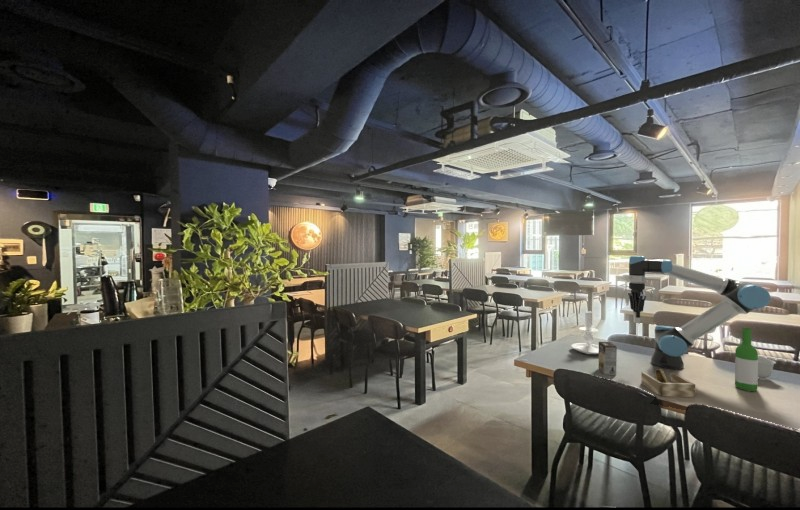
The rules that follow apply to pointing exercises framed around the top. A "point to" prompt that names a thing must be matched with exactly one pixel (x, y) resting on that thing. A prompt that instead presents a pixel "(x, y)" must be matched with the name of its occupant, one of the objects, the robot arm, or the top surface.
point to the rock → (661, 376)
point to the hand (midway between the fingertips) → (636, 322)
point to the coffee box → (607, 358)
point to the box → (669, 386)
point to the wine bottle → (746, 364)
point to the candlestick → (587, 337)
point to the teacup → (765, 367)
